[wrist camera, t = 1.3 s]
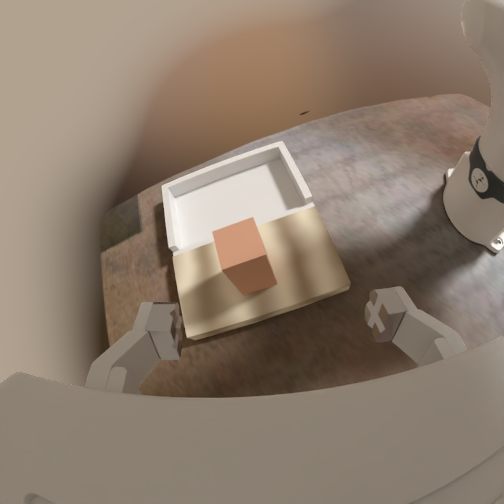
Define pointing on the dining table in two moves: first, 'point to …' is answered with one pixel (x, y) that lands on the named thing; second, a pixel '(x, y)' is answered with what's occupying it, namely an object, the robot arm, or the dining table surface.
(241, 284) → the block
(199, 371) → the dining table surface
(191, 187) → the box
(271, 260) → the birch board
